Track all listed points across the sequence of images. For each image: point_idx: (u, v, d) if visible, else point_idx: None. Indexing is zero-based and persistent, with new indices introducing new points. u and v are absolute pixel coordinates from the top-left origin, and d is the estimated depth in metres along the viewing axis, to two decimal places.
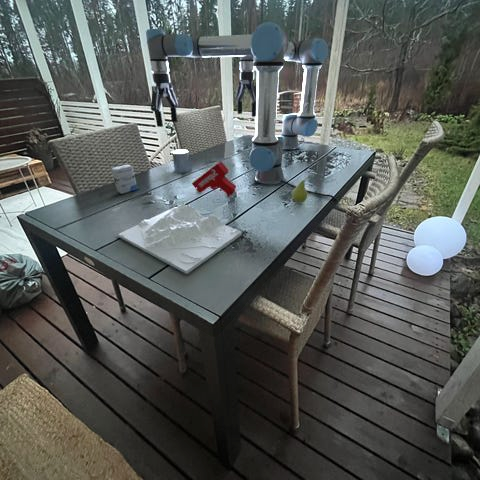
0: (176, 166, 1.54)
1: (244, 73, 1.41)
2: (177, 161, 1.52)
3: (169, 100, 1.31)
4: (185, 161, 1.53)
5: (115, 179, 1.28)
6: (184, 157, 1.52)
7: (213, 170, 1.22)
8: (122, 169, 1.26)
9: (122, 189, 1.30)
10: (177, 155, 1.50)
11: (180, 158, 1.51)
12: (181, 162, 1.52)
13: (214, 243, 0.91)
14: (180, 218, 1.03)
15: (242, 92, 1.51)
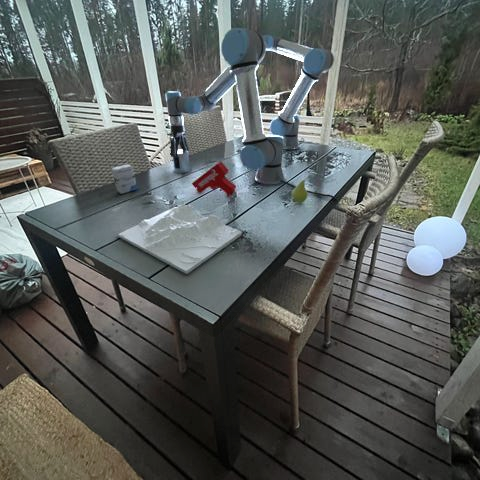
0: None
1: None
2: None
3: (182, 145, 1.55)
4: (185, 161, 1.53)
5: (115, 179, 1.28)
6: (184, 157, 1.52)
7: (213, 170, 1.22)
8: (122, 169, 1.26)
9: (122, 189, 1.30)
10: None
11: (180, 158, 1.51)
12: (181, 162, 1.52)
13: (214, 243, 0.91)
14: (180, 218, 1.03)
15: None
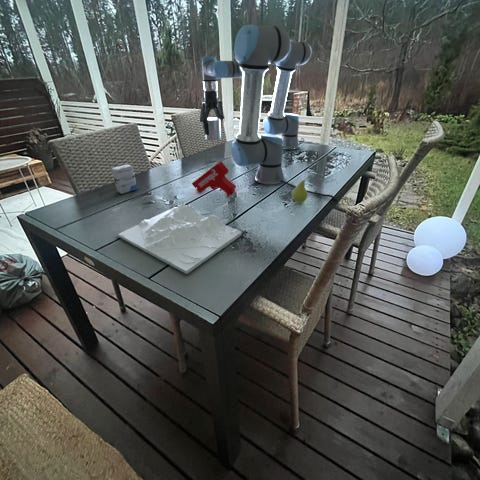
0: None
1: None
2: None
3: (216, 113, 1.58)
4: (214, 128, 1.56)
5: (115, 179, 1.28)
6: (213, 124, 1.55)
7: (213, 170, 1.22)
8: (122, 169, 1.26)
9: (122, 189, 1.30)
10: (207, 121, 1.54)
11: (209, 124, 1.55)
12: (210, 129, 1.56)
13: (214, 243, 0.91)
14: (180, 218, 1.03)
15: None
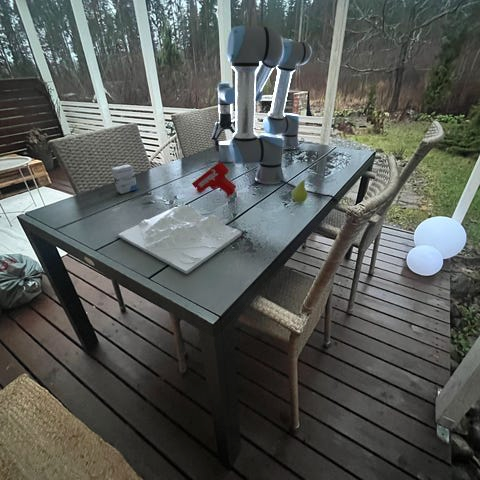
0: (220, 155, 1.73)
1: None
2: (220, 150, 1.70)
3: (232, 132, 1.69)
4: (226, 152, 1.69)
5: (115, 179, 1.28)
6: (225, 148, 1.68)
7: (213, 170, 1.22)
8: (122, 169, 1.26)
9: (122, 189, 1.30)
10: (220, 145, 1.68)
11: (222, 148, 1.68)
12: (223, 152, 1.69)
13: (214, 243, 0.91)
14: (180, 218, 1.03)
15: None
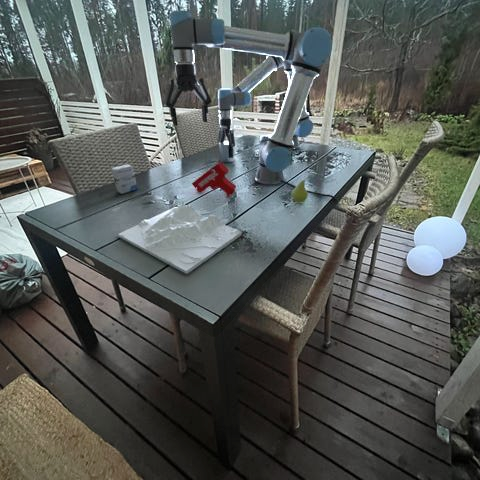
0: (220, 155, 1.73)
1: (222, 120, 1.60)
2: (220, 150, 1.70)
3: (198, 96, 1.12)
4: (226, 152, 1.69)
5: (115, 179, 1.28)
6: (225, 148, 1.68)
7: (213, 170, 1.22)
8: (122, 169, 1.26)
9: (122, 189, 1.30)
10: (220, 145, 1.68)
11: (222, 148, 1.68)
12: (223, 152, 1.69)
13: (214, 243, 0.91)
14: (180, 218, 1.03)
15: (223, 135, 1.70)
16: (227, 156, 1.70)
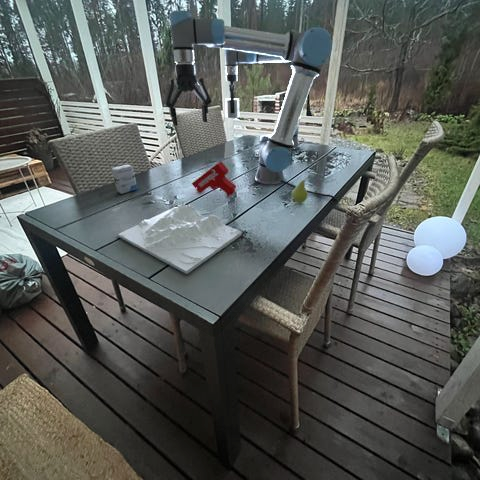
0: None
1: (226, 76, 1.74)
2: None
3: (198, 96, 1.12)
4: (228, 107, 1.82)
5: (115, 179, 1.28)
6: (228, 103, 1.82)
7: (213, 170, 1.22)
8: (122, 169, 1.26)
9: (122, 189, 1.30)
10: (225, 100, 1.83)
11: (226, 103, 1.83)
12: (226, 107, 1.84)
13: (214, 243, 0.91)
14: (180, 218, 1.03)
15: None
16: (229, 111, 1.84)
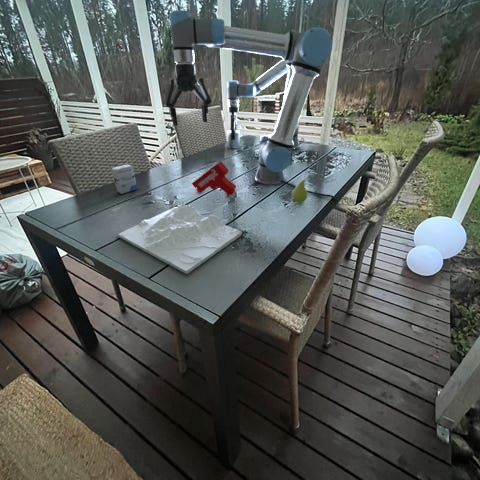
0: None
1: (228, 107, 1.89)
2: None
3: (198, 96, 1.12)
4: (230, 139, 1.99)
5: (115, 179, 1.28)
6: (229, 136, 1.98)
7: (213, 170, 1.22)
8: (122, 169, 1.26)
9: (122, 189, 1.30)
10: None
11: (228, 135, 2.00)
12: (228, 138, 2.01)
13: (214, 243, 0.91)
14: (180, 218, 1.03)
15: None
16: (230, 142, 2.00)
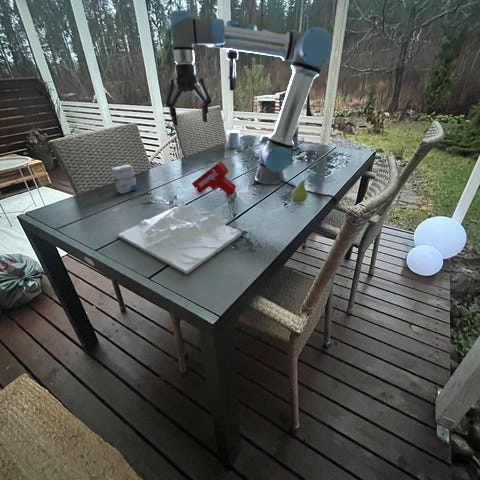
0: None
1: (227, 53, 1.73)
2: None
3: (198, 96, 1.12)
4: (230, 139, 1.99)
5: (115, 179, 1.28)
6: (229, 136, 1.98)
7: (213, 170, 1.22)
8: (122, 169, 1.26)
9: (122, 189, 1.30)
10: None
11: (228, 135, 2.00)
12: (228, 138, 2.01)
13: (214, 243, 0.91)
14: (180, 218, 1.03)
15: None
16: (230, 142, 2.00)
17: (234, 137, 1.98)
